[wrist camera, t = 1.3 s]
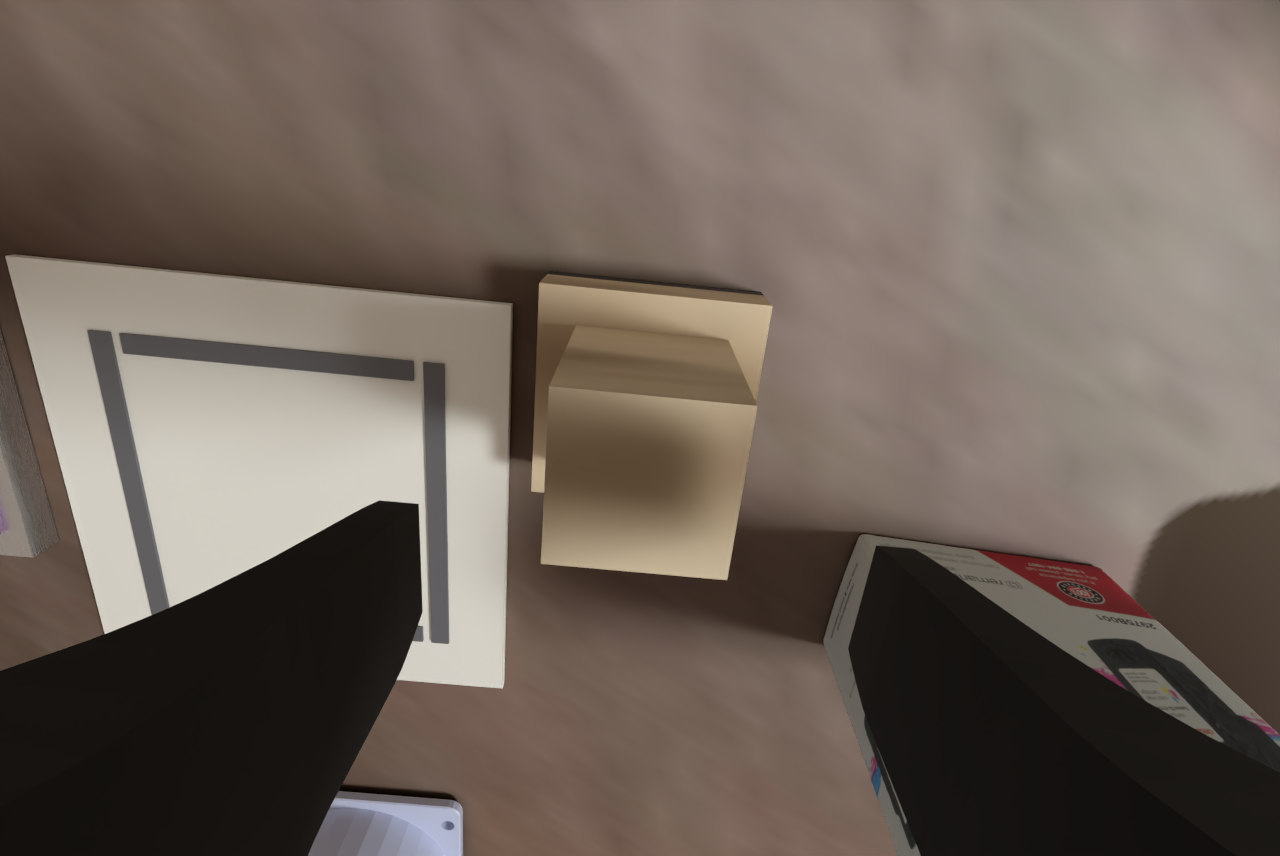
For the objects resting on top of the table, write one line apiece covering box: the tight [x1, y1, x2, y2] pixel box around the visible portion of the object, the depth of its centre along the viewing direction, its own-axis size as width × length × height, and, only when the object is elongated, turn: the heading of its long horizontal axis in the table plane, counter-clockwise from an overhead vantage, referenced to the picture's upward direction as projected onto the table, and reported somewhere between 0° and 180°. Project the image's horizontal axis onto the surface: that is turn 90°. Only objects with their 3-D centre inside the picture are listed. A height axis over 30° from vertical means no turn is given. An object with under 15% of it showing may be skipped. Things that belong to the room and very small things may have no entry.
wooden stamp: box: [531, 271, 773, 580], centre depth 17 cm, size 6×6×7 cm
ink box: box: [823, 534, 1280, 856], centre depth 17 cm, size 9×5×12 cm, turn 81°
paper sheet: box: [5, 254, 513, 688], centre depth 21 cm, size 14×14×1 cm
